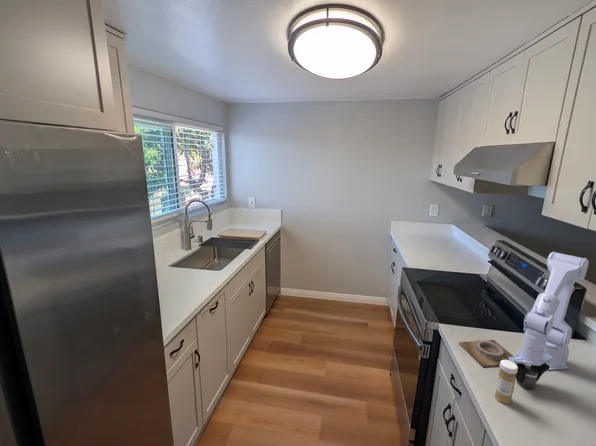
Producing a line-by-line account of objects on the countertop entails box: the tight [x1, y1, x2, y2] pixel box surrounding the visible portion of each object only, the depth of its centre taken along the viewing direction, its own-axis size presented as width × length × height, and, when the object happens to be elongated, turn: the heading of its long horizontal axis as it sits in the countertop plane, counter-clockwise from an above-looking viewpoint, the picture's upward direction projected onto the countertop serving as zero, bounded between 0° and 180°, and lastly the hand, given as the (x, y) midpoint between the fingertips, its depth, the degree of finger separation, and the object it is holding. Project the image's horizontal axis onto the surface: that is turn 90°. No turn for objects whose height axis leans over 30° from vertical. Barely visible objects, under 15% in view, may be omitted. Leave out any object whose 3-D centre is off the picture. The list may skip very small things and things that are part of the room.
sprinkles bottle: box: [494, 360, 518, 405], centre depth 91 cm, size 5×5×14 cm
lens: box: [516, 364, 538, 391], centre depth 98 cm, size 5×5×6 cm
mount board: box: [458, 339, 514, 368], centre depth 114 cm, size 16×14×3 cm
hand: (526, 380), depth 98 cm, fingers closed on lens, 5 cm apart
